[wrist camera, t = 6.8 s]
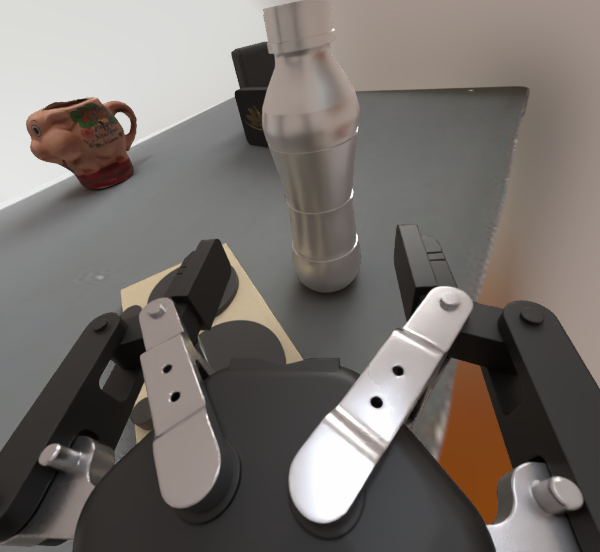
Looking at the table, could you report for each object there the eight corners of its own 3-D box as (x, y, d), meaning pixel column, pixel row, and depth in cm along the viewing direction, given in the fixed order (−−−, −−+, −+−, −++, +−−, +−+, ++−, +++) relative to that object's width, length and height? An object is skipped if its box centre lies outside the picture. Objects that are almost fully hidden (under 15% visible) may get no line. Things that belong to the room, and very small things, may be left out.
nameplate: (335, 150, 51) (331, 85, 44) (329, 155, 50) (324, 89, 43) (254, 141, 61) (240, 87, 54) (248, 144, 60) (233, 90, 53)
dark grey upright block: (279, 114, 73) (265, 40, 63) (287, 117, 70) (274, 40, 60) (248, 126, 70) (228, 50, 60) (255, 128, 68) (236, 50, 57)
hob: (158, 529, 16) (132, 525, 14) (128, 299, 30) (113, 282, 29) (332, 409, 19) (329, 392, 17) (229, 252, 34) (222, 234, 32)
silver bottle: (291, 301, 27) (215, 19, 13) (302, 254, 31) (254, 11, 17) (361, 302, 25) (360, -13, 11) (361, 253, 30) (360, -13, 16)
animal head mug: (136, 155, 68) (98, 87, 58) (170, 156, 62) (135, 83, 53) (56, 197, 56) (-7, 121, 46) (91, 203, 51) (28, 119, 41)
